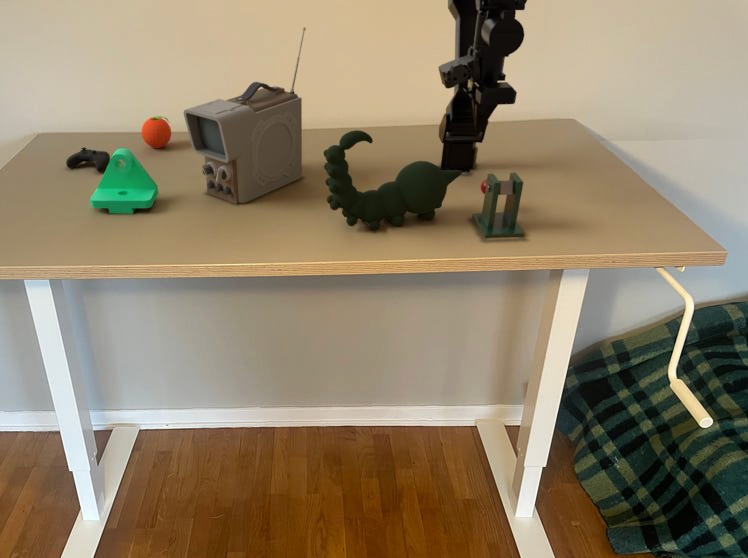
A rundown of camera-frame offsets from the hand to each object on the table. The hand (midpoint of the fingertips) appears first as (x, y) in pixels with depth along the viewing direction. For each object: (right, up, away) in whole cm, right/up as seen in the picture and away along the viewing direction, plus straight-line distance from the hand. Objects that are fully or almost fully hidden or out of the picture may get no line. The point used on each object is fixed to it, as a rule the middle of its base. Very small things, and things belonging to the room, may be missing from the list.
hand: (478, 129), depth 139 cm
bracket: (+2, -20, -6) cm, 21 cm away
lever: (+2, -14, -6) cm, 15 cm away
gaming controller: (-80, 0, +26) cm, 84 cm away
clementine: (-66, +7, +35) cm, 75 cm away
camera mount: (-69, -13, +7) cm, 70 cm away
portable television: (-44, -8, +13) cm, 46 cm away
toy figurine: (-17, -18, -2) cm, 25 cm away
